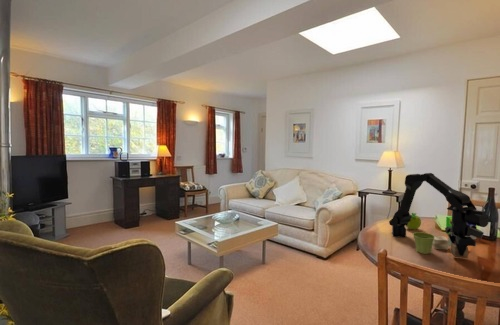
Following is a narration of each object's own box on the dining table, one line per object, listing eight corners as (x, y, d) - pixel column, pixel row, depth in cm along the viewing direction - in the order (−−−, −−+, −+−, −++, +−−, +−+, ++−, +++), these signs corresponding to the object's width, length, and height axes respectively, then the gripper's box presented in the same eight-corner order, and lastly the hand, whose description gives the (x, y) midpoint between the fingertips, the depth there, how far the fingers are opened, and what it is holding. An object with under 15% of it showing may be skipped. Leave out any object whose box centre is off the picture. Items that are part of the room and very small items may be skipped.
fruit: (422, 228, 166) (422, 213, 166) (419, 232, 160) (419, 216, 159) (405, 225, 173) (405, 211, 172) (402, 229, 166) (402, 214, 165)
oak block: (434, 248, 135) (434, 239, 135) (431, 244, 140) (431, 235, 140) (448, 250, 133) (448, 240, 132) (444, 245, 138) (444, 236, 138)
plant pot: (435, 257, 125) (435, 239, 125) (412, 253, 130) (412, 236, 130) (434, 250, 133) (434, 233, 133) (412, 247, 138) (412, 231, 138)
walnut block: (454, 257, 121) (454, 246, 120) (450, 252, 125) (450, 242, 125) (467, 258, 119) (468, 247, 118) (463, 254, 123) (463, 243, 123)
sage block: (454, 249, 133) (454, 239, 133) (448, 245, 138) (448, 236, 138) (465, 249, 133) (465, 239, 132) (458, 245, 138) (458, 236, 137)
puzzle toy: (476, 239, 145) (476, 221, 145) (455, 238, 147) (455, 221, 147) (465, 233, 155) (465, 217, 154) (446, 232, 157) (446, 216, 156)
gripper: (491, 228, 109) (490, 264, 110) (472, 216, 127) (471, 247, 128) (459, 226, 113) (458, 261, 114) (444, 215, 131) (444, 245, 132)
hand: (459, 253), depth 122 cm, fingers closed on walnut block, 5 cm apart
